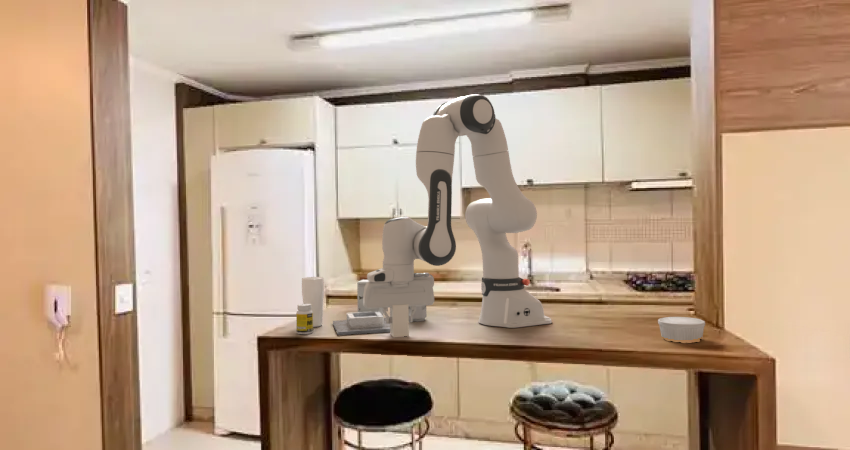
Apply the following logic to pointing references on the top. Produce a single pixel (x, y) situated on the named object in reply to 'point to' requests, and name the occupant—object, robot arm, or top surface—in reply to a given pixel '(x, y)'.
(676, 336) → the ramekin
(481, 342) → the top surface
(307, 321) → the supplement bottle
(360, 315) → the dock socket
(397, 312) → the small white box
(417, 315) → the energy drink can
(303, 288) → the drinking glass
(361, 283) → the supplement box
